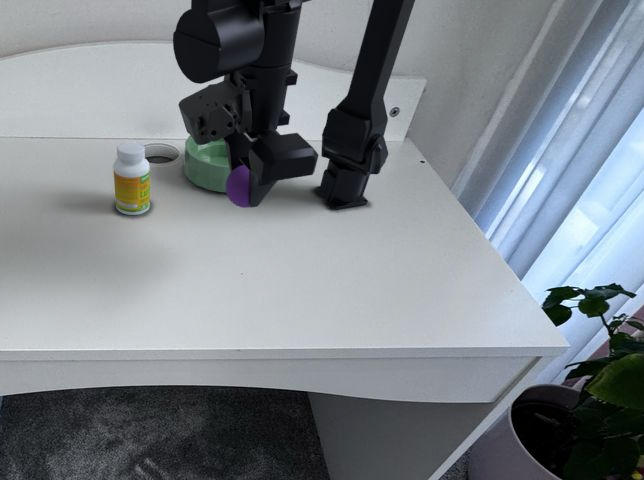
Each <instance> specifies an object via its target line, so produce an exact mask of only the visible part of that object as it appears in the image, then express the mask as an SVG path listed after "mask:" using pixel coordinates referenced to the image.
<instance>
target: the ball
mask: <svg viewBox="0 0 644 480" xmlns="http://www.w3.org/2000/svg"><path fill="white" fill-rule="evenodd" d="M248 192H249V170H248V169H247V168H246V166H245V165H242V166H239V167H237V168H235V169H234V170H233V171H232V172H231V173H230V174H229V176H228V178H227V181H226V192H225V193H226V196H227V198H228V200H229V201H230V202H231V203H232V204H233V205H235V206H237V207H239V208H244V209H245V208H251V207H250V206H249V197H248Z"/></svg>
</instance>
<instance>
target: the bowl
mask: <svg viewBox="0 0 644 480" xmlns="http://www.w3.org/2000/svg"><path fill="white" fill-rule="evenodd" d="M183 159H184V160H183V173H184V174H185V176H186V178H187V179H188V181H190V182H192V183H193V184H195V185H196V186H198V187H201V188H203V189H206V190H208V191H213V192H219V193H226V181H227V178H228V176H229V174H230V167H229V161H228V156H227V150H226V146H225V141H224V139H223V138H222V139H220V140H218V141H216V142H213V141H211V142H210V143H207V144H205V145H197V144H196V143H195V142H194V140H193V138H192V137H191V135H190V134H189V136H188V137H187V139H186V140H185V142H184V158H183Z"/></svg>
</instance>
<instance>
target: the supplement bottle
mask: <svg viewBox="0 0 644 480" xmlns="http://www.w3.org/2000/svg"><path fill="white" fill-rule="evenodd" d="M116 156H117V158H116V159H115V160H114V162H113V183H114V185H113V186H114V199H115V200H114V201H115V202H114V203H115V207H116V209H117V211H118V212H120V213H122V214H124V215H127V216H138V215H142V214H144V213H147V212H148V210H149V209H150V207H151V167H150V163H149V161H148V159H147V158H145V157H146V147H145V145H144V144H143V143H141V142H139V141H134V140H126V141H123V142H120V143H118V144H117V146H116Z"/></svg>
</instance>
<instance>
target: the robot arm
mask: <svg viewBox="0 0 644 480" xmlns="http://www.w3.org/2000/svg"><path fill="white" fill-rule="evenodd" d="M190 1H191V2H190V8H189V9H187V10H185V11H184V12H183V14H181V15H180V17H179V19H178V21H177V23H176V26H175V31H174V32H173V34H172V48H173V54H174V58H175V61H176V64H177V66H178V67H179V70H180V71H181V73H182V74H183V75H184V76H185V78H186V79H188V80H189V81H190V82H191V83H194V84H199V85H201V84H206V83H209V82H212V81H213V80H217V79H220V78H222V77H223V79H222V81H219V82H217V83H211V84H208V85H207V86H206V87H203V88H202V89H200V90H197V91H196V92H194V93H192V94H190V95H188V96H186V97H184V98H182V99H181V100H180V101H179V102H178V109H179V111H180V114H181V118H182V121H183V124H184V127H185V130H186V132H187V134H189V136H190V135H191V137H192V138H193V140H194V142H195V143H196V144H197V145H205V144H207V143H210V142H211V141H213V142H216V141H218V140H220V139H222V138H223V139H224V141H225V146H226V150H227V156H228V161H229V167H230V173H231V172H232V171H233V170H234V169H235V168H237V167H239V166H242V165H245V166H246V168H247V169H248V170H249V192H248V197H249V206H250V207H249V208H256V207H258V206H260V205H261V203H262V201H264V199H265V198H266V196H267V195H268V194H269V193H270V192H271V190H272V188H274V187H275V185H276V184H277V182H278V181H283V180H290V179H296V178H302V177H308V176H313V175H314V174H315V172H316V168H317V164H318V160H319V153H318V152H317V150H316V149H315V148H314V147H313V146H312V144H310V143H309V142H308V141H307V140H306V139H305V138H304V137H302V135H300V134H299V133H298V132H292V133H285V134H280V132H279V131H278V130H277V129H278V127H283V126H289V124H290V119H291V115H290V114H289V113H288V112H287V110H285V104H286V98H287V92H288V87H291V86H296V85H297V82H298V77H299V74H298V73H297V72H295V70H293V69H292V64H293V58H294V52H295V47H296V42H297V36H298V30H299V24H300V20H301V14H302V9H303V3H308V2H311V1H312V0H190ZM415 3H416V0H373V2H372V4H371V8H370V11H369V16H368V19H367V22H366V26H365V29H364V33H363V37H362V40H361V45H360V47H359V52H358V54H357V58H356V62H355V66H354V68H353V69H354V70H353V73H352V77H351V80H350V84H349V88H348V91H347V94H346V96H345V97H344V98H343V99H342V100H341V101H340V102H339V103H338V104H337V105H336V106H334V107H332V108H331V109H330V110H329V111H328V112H327V115H326V122H325V125H324V127H323V130H322V133H321V157H322V158H326V159H328V162H327V167H326V169H324V171H323V174H322V177H321V181H320V184H319V186H315V189H314V191H315V192H316V193H317V194H318V195H319V196H320V197H321V198H322V199H323V201H325V202H326V203H327V204H328V205H329V207H331V209H333V210H340V209H341V210H342V209H346V208H352V207H358V206H365V205H368V203H369V200H368V199H367V198H366V197H365V196H364V194H365V191H366V188H367V185H368V182H369V179H370V176H371V175H379V174H380V173H381V170H382V168H383V166H384V165H385V164H386V161H387V158H388V157H389V154H390V153H389V149H388V145H387V143H386V139H385V133H386V129H387V125H388V121H389V119H388V113H387V109H386V104H385V100H384V97H385V94H386V90H387V88H388V85H389V82H390V78H391V75H392V73H393V70H394V67H395V64H396V60H397V57H398V54H399V51H400V48H401V45H402V42H403V39H404V36H405V33H406V30H407V27H408V24H409V20H410V18H411V15H412V11H413V9H414V5H415Z"/></svg>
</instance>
